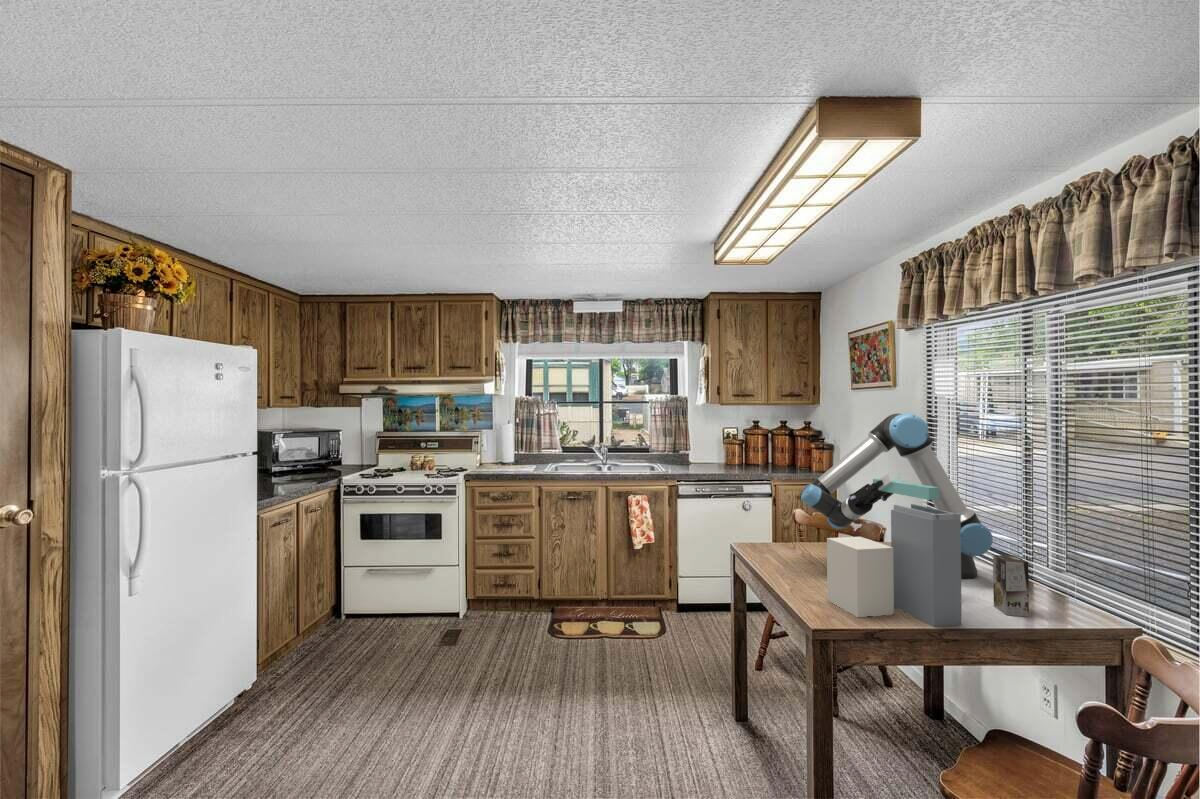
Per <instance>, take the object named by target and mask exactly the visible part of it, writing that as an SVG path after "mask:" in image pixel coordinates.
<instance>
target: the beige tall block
mask: <svg viewBox="0 0 1200 799" xmlns="http://www.w3.org/2000/svg"><path fill="white" fill-rule="evenodd" d="M826 568H827V569H826V577H827V579H826V581H827V583H826V584H827V585H826V589H827V590H826V591H827V593H826V600H827V602H829V603H830V602H831V603H830V604H832V603H833V604H832V605H834V604H835V606H836V605H837V606H836V607H837V608H839V607H840V608H839V609H841V608H842V609H841V610H843V609H844V610H843V611H845V612H847V613H848V612H849V614H850V613H851V615H852V614H853V615H852V616H854V617H855V618H857V617H860V618H868V617H867V616H873V617H882V616H881V615H886V616H893V615H892V614H894V615H895V613H894V612H895V608H894V573H893V547H891V545H890V546H889V545H887V544H884V543H881V542H879V541H878V542H877V541H876V540H875V541H874V540H872V539H869V538H866V537H863V536H845V537H843V536H842V537H827V538H826Z"/></svg>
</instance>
